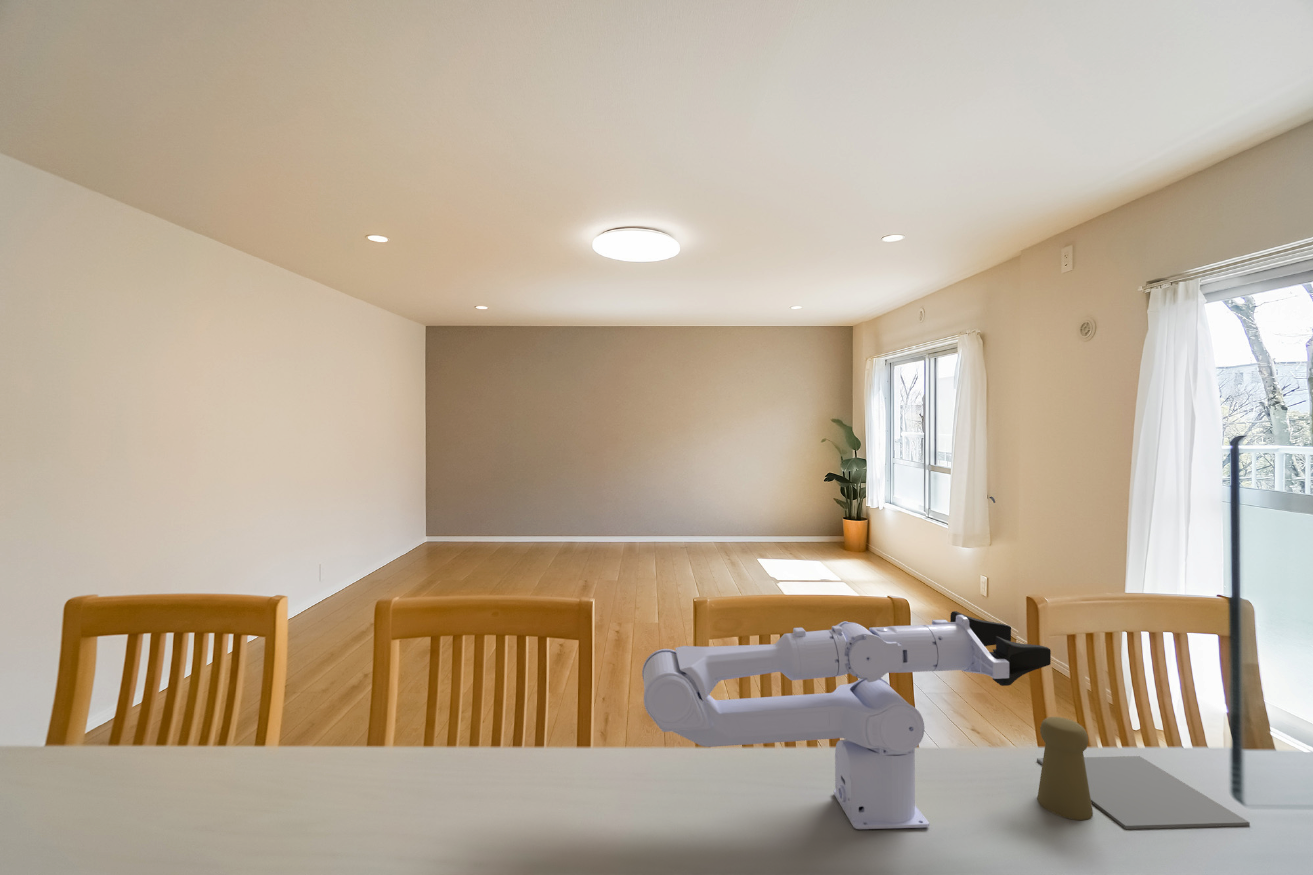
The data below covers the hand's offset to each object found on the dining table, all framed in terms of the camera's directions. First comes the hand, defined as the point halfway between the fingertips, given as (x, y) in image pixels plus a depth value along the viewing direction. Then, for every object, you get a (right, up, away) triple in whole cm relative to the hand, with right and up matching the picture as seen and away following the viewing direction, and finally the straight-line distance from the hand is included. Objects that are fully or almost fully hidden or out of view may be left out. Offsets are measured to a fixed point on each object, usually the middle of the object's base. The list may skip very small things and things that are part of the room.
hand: (1028, 643), depth 78 cm
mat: (+17, -21, +3) cm, 27 cm away
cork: (+5, -21, 0) cm, 22 cm away
